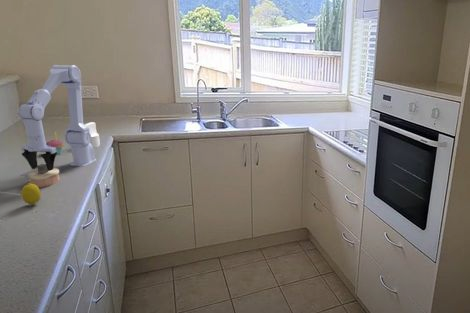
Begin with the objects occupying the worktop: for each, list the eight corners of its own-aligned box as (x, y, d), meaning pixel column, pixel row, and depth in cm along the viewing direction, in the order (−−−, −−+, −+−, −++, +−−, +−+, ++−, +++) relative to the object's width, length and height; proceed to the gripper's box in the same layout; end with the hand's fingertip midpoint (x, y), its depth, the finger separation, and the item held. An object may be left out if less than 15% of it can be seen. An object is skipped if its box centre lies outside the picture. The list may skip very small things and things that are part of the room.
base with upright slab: (93, 148, 177) (90, 126, 173) (78, 147, 179) (75, 125, 175) (103, 143, 186) (100, 122, 182) (88, 143, 187) (85, 122, 183)
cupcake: (61, 150, 174) (57, 128, 171) (67, 154, 169) (63, 130, 165) (43, 154, 169) (39, 130, 165) (49, 157, 163) (44, 134, 159)
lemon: (45, 201, 118) (41, 180, 115) (37, 208, 113) (32, 186, 110) (29, 201, 118) (24, 180, 115) (20, 208, 112) (15, 186, 110)
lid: (43, 168, 139) (41, 159, 137) (65, 170, 136) (63, 161, 135) (20, 178, 129) (18, 168, 127) (44, 181, 126) (42, 171, 125)
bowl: (44, 177, 139) (43, 169, 138) (65, 179, 137) (63, 171, 136) (24, 186, 130) (22, 178, 129) (46, 189, 128) (44, 180, 126)
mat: (42, 166, 151) (41, 165, 151) (63, 169, 148) (63, 168, 148) (20, 176, 140) (20, 175, 140) (43, 178, 137) (42, 177, 137)
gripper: (11, 137, 125) (19, 171, 130) (43, 139, 122) (50, 174, 126) (27, 132, 132) (33, 165, 136) (57, 134, 128) (63, 168, 133)
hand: (42, 169), depth 132 cm, fingers open, 7 cm apart
